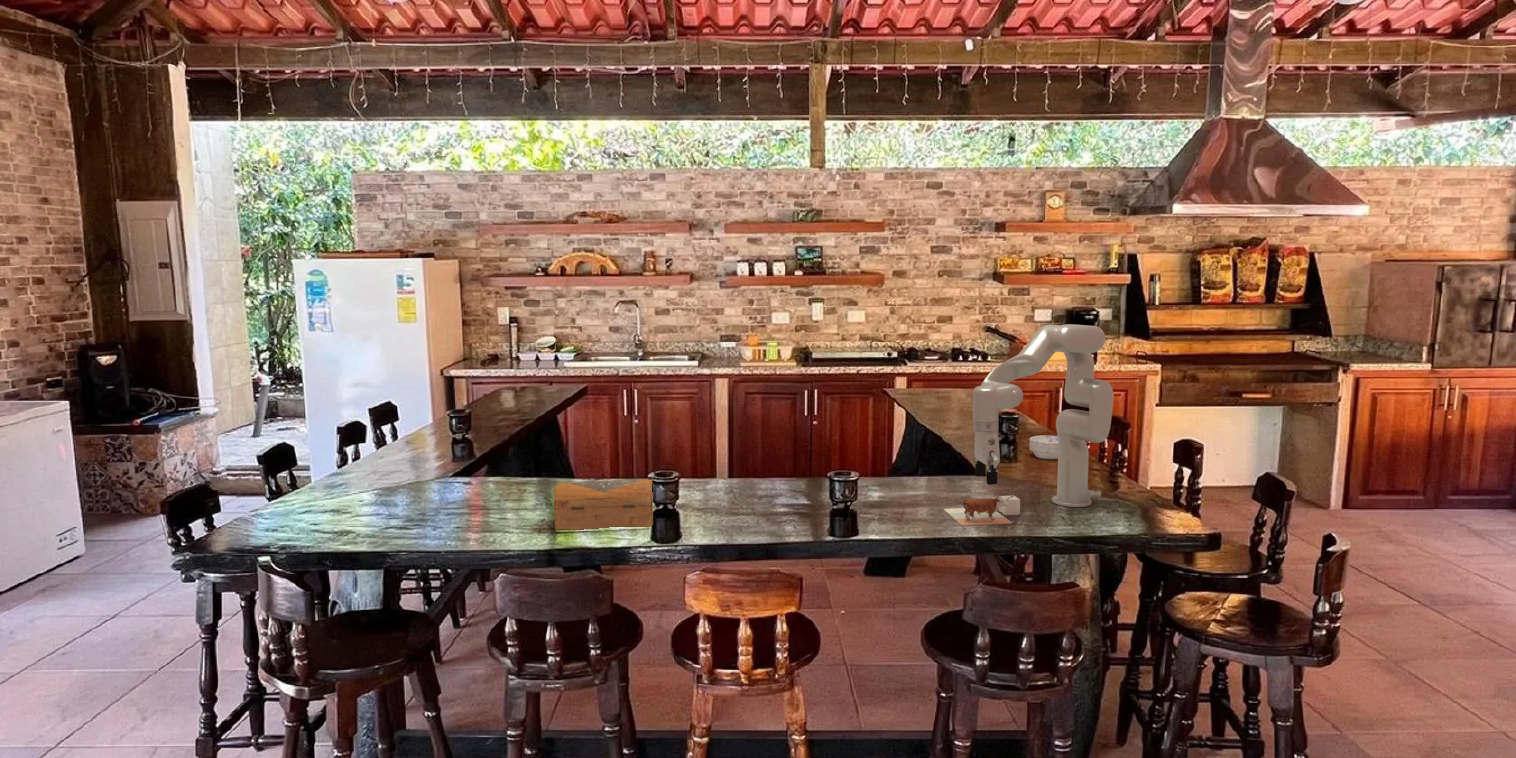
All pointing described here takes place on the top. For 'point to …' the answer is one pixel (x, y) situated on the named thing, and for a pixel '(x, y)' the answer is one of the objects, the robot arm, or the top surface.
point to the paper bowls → (1044, 446)
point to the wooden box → (603, 504)
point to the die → (1011, 506)
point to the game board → (976, 517)
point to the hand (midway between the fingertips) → (986, 480)
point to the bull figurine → (983, 506)
